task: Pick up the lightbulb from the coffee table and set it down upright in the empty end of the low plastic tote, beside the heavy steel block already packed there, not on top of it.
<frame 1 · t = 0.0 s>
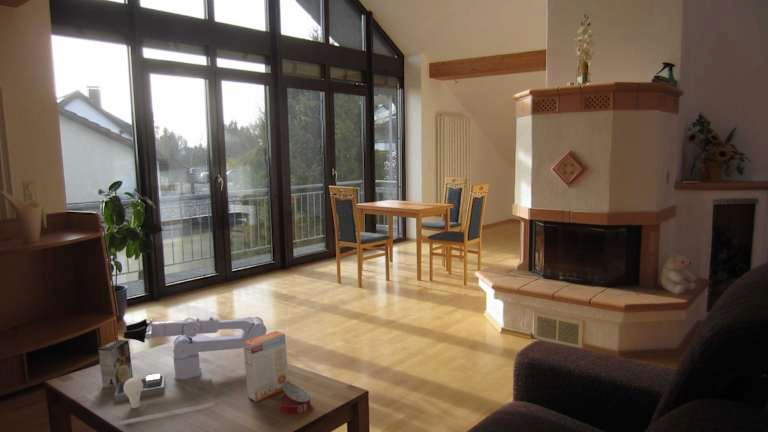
hand: (125, 331, 193), 22 cm above the table, tool horizontal, fingers open, 7 cm apart
coffee box: (118, 384, 199), on the table
steel block: (154, 388, 192), point 1 cm above the table, touching tote
lightbulb: (135, 409, 180), on the table
cracker box: (268, 393, 187), on the table
tote: (141, 393, 191), on the table
canned food: (295, 407, 177), on the table
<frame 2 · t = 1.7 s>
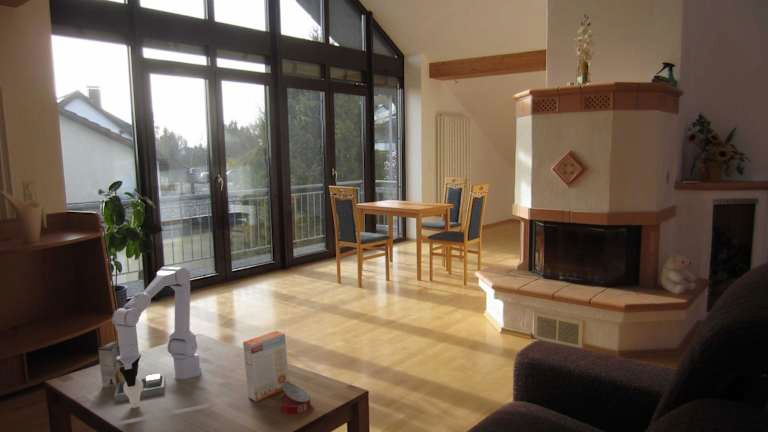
hand: (132, 381, 178), 10 cm above the table, tool pointing down, fingers open, 7 cm apart
nothing on the table moved.
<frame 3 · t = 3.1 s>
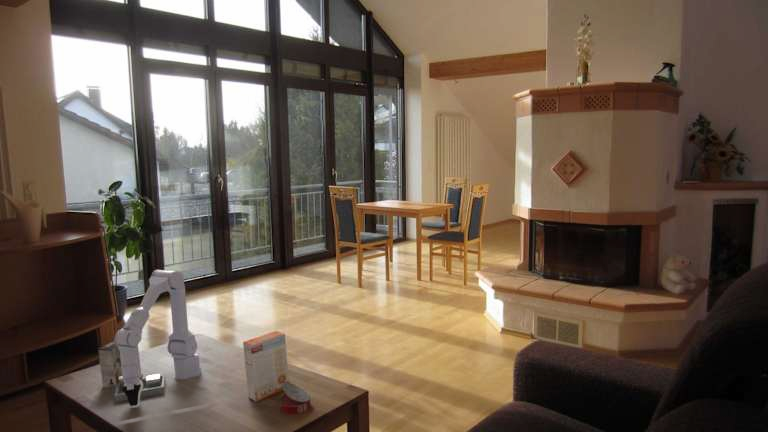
hand: (134, 400, 179), 3 cm above the table, tool pointing down, fingers closed on lightbulb, 6 cm apart
lightbulb: (135, 409, 180), on the table, touching gripper
everything else where it was.
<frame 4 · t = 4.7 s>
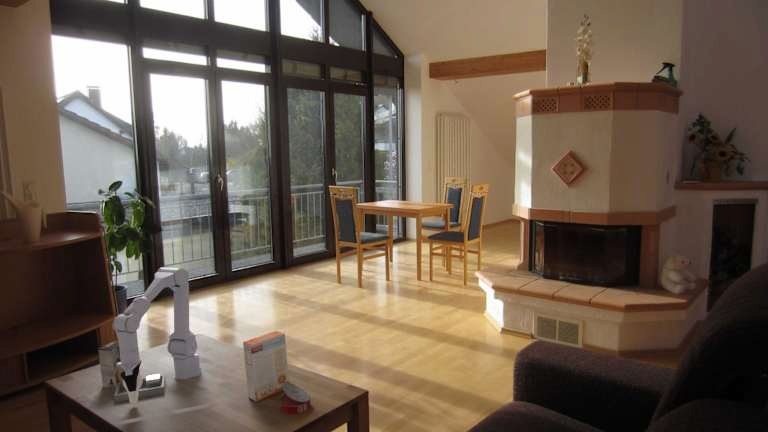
hand: (133, 386, 179), 8 cm above the table, tool pointing down, fingers closed on lightbulb, 6 cm apart
lightbulb: (133, 404, 179), point 2 cm above the table, touching gripper
everything else where it was.
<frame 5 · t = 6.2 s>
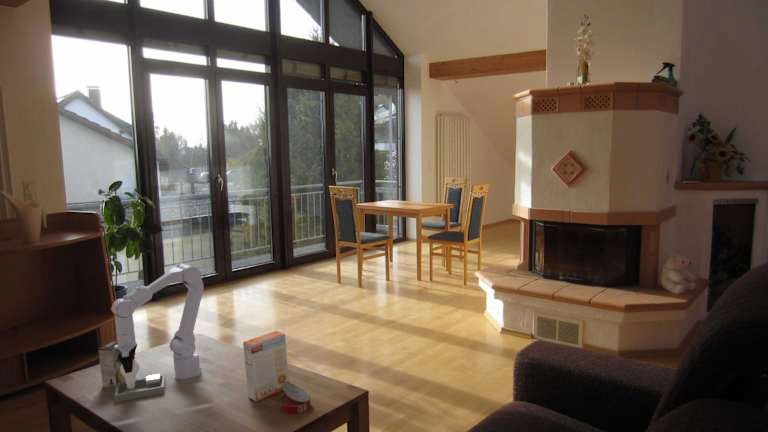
hand: (129, 368, 188), 10 cm above the table, tool pointing down, fingers closed on lightbulb, 6 cm apart
lightbulb: (131, 389, 188), point 3 cm above the table, touching gripper
everything else where it was.
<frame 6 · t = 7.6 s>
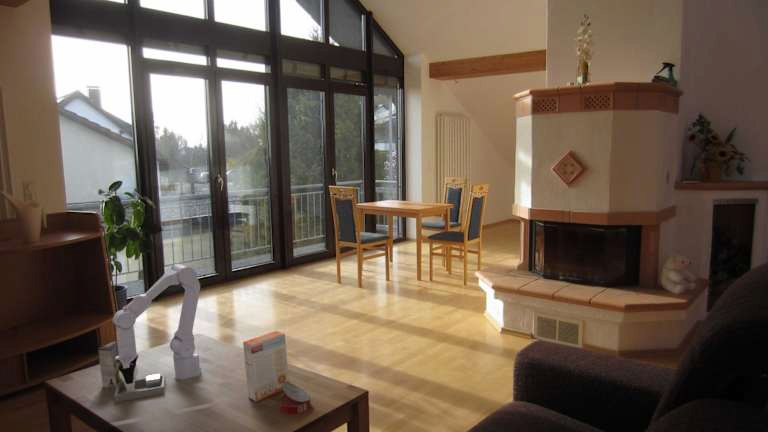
hand: (130, 379, 189), 6 cm above the table, tool pointing down, fingers closed on lightbulb, 6 cm apart
lightbulb: (131, 393, 189), point 1 cm above the table, touching gripper, tote
everything else where it was.
when the fingers open (5 cm above the table, at t = 8.8 s): lightbulb stays where it is, resting on tote.
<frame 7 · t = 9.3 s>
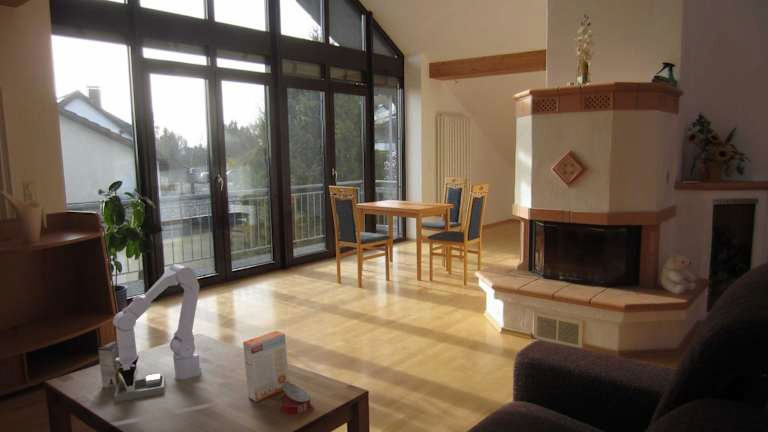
hand: (130, 381, 189), 5 cm above the table, tool pointing down, fingers open, 7 cm apart
lightbulb: (131, 393, 189), point 1 cm above the table, touching tote
everything else where it was.
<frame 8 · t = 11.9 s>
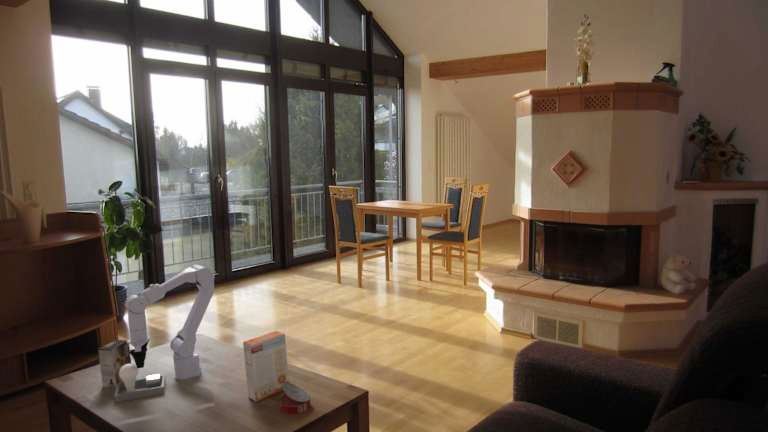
hand: (141, 363, 192), 10 cm above the table, tool pointing down, fingers open, 7 cm apart
nothing on the table moved.
at the end: lightbulb 0.3 cm from the target spot on the tote, point 0.8 cm above the tote's base; lightbulb tilted 0°; steel block moved 0.1 cm from its start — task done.
